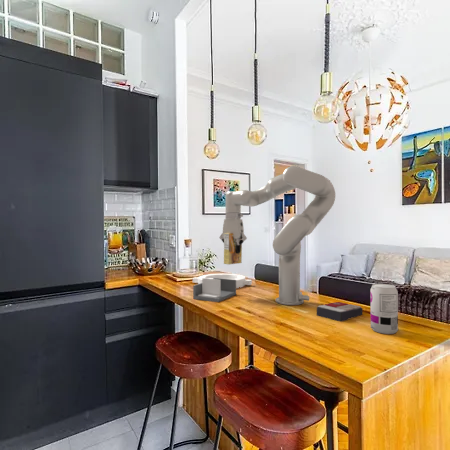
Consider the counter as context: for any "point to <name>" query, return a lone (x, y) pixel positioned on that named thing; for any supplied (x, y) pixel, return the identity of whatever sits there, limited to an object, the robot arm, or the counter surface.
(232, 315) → the counter surface
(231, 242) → the candy box
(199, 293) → the shelf
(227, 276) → the ring with crossbar
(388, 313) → the supplement can
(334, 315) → the dark grey flat box
